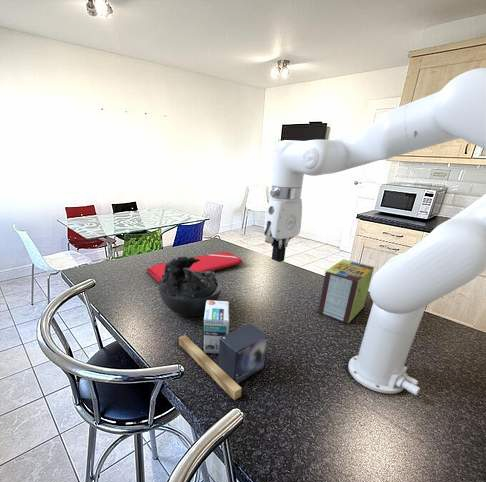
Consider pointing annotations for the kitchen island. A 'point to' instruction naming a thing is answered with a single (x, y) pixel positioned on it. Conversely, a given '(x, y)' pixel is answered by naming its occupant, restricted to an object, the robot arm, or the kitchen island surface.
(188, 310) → the coal bowl
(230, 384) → the maple rail
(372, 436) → the kitchen island surface
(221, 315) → the light bulb box
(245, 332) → the small box
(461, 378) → the kitchen island surface
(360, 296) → the protein box
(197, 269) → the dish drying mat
